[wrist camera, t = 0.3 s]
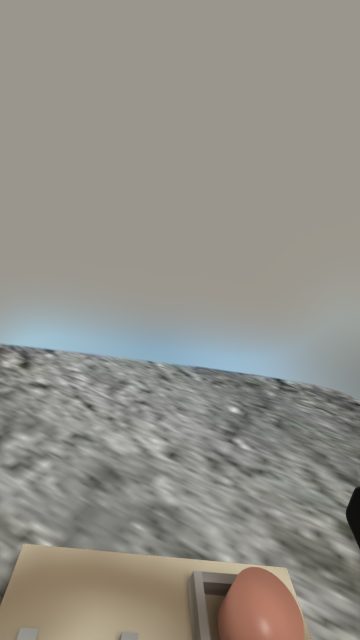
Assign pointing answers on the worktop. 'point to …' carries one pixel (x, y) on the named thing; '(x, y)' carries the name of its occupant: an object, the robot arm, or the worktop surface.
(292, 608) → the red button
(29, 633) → the control panel
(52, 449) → the worktop surface
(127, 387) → the worktop surface
